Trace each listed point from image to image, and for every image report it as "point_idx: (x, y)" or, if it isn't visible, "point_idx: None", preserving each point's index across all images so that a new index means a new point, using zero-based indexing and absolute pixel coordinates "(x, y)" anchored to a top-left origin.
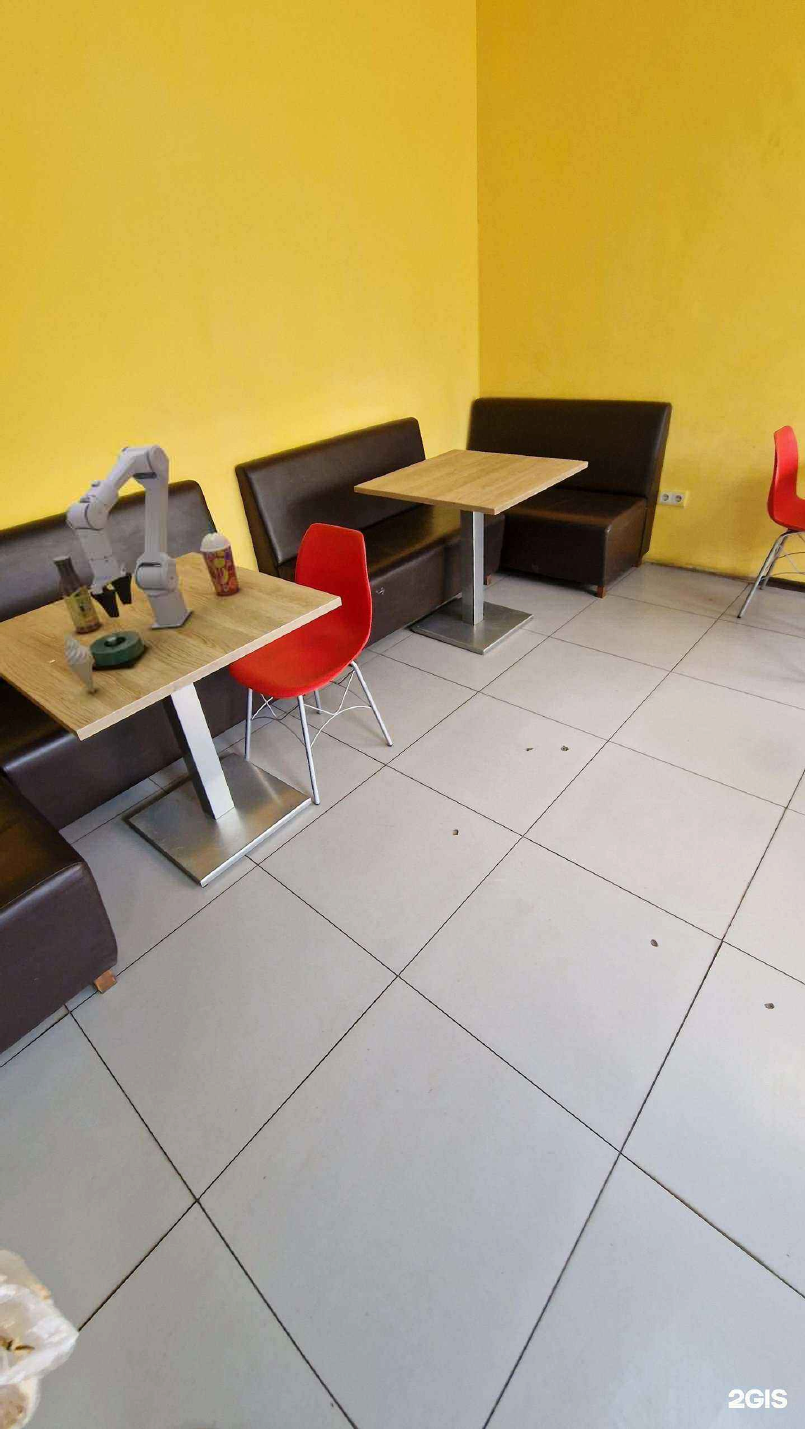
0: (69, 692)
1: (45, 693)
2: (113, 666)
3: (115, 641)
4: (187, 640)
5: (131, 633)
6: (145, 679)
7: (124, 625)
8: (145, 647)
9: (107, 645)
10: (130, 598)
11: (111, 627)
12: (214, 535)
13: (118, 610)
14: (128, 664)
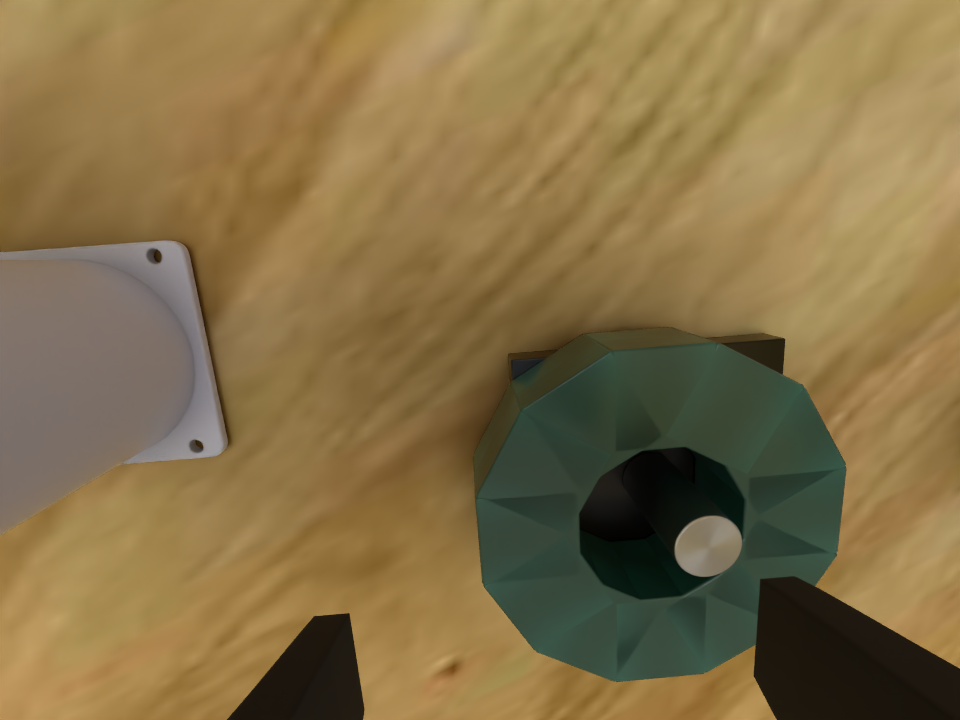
0: (956, 558)
1: None
2: None
3: (715, 507)
4: (414, 81)
5: (532, 461)
6: (936, 165)
7: (178, 654)
8: (527, 354)
9: (628, 576)
10: (313, 671)
11: (207, 716)
12: None
13: (836, 630)
14: (780, 349)
